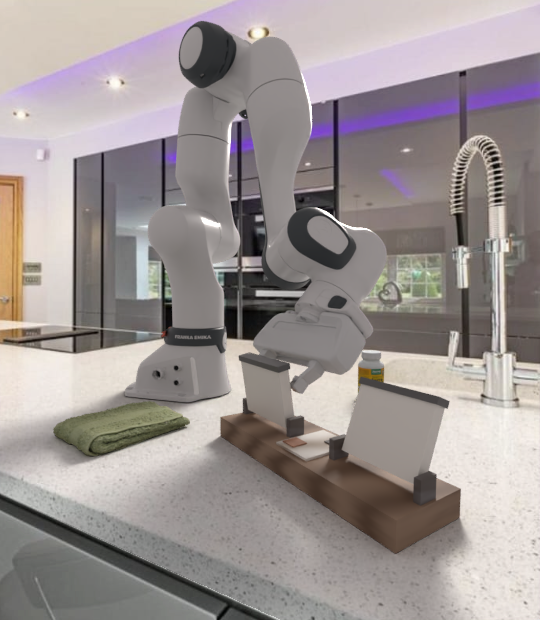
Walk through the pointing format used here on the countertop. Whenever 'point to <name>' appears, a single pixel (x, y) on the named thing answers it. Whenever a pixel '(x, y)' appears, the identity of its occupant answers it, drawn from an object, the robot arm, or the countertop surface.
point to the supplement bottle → (371, 366)
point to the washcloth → (118, 427)
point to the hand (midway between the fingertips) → (274, 383)
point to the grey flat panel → (394, 428)
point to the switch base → (346, 479)
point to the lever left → (267, 387)
